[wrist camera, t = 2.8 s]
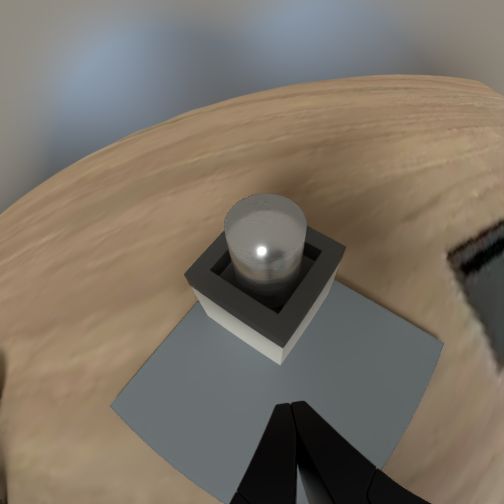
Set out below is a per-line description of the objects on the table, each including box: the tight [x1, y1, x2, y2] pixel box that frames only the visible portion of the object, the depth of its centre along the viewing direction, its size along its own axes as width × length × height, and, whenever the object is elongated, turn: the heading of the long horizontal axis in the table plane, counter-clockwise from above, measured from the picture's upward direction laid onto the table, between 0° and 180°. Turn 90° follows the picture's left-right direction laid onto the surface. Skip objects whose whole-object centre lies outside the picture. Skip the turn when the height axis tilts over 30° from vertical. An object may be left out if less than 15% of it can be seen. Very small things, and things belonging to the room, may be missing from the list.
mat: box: [110, 280, 444, 504], centre depth 19 cm, size 20×20×1 cm
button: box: [224, 193, 307, 308], centre depth 16 cm, size 4×4×6 cm
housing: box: [184, 226, 346, 365], centre depth 20 cm, size 7×7×7 cm
